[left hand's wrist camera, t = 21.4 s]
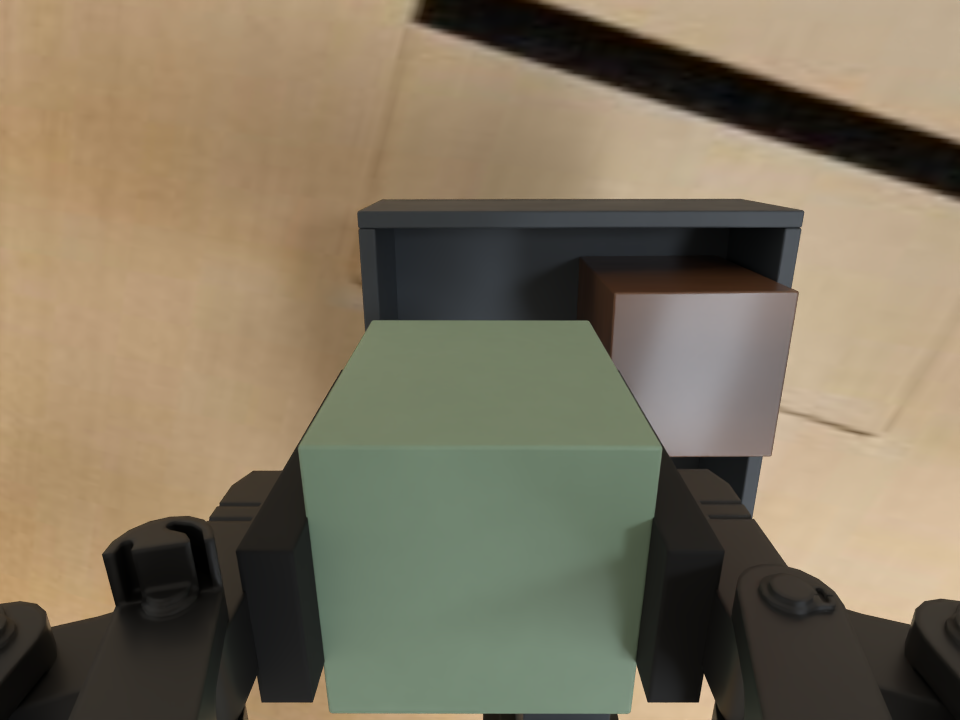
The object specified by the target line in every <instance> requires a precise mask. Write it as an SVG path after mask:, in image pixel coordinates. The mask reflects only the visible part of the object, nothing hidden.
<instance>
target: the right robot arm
mask: <svg viewBox="0 0 960 720" xmlns="http://www.w3.org/2000/svg"><path fill="white" fill-rule="evenodd" d="M483 720H516V718H515V714H483ZM610 720H618V715H617V714H610Z"/></svg>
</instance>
